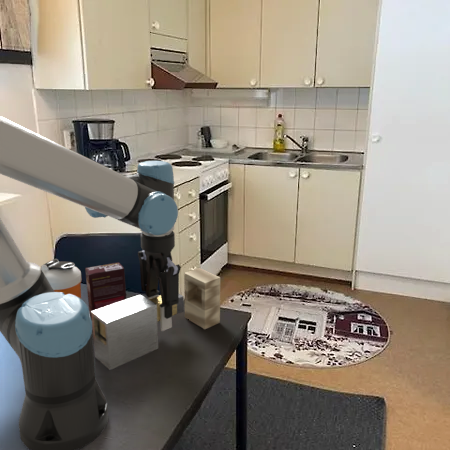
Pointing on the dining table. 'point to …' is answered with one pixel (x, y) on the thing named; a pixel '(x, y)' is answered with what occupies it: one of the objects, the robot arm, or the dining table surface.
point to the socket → (202, 297)
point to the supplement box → (105, 285)
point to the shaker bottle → (63, 277)
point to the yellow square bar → (157, 300)
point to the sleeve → (125, 331)
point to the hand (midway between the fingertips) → (160, 324)
